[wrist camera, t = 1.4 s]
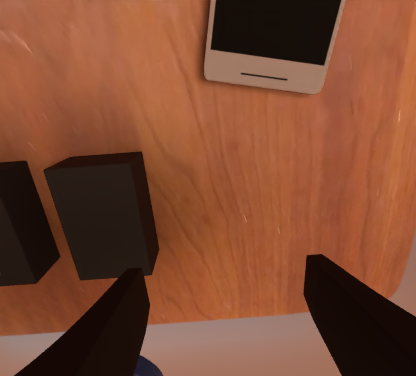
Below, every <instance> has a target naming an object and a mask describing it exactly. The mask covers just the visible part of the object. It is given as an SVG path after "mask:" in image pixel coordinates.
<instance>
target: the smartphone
mask: <svg viewBox="0 0 416 376" xmlns="http://www.w3.org/2000/svg"><path fill="white" fill-rule="evenodd" d="M345 2H346V0H211V4H210V13H209V23H208V32H207V42H206V52H205V61H204V76H205V78H206V80H208V81H215V82H223V83H230V84H238V85H245V86H253V87H260V88H268V89H275V90H282V91H290V92H297V93H305V94H318V93H319V92H320V90H321V88H322V86H323V84H324V80H325V76H326V73H327V69H328V65H329V62H330V58H331V54H332V50H333V47H334V43H335V39H336V36H337V32H338V28H339V24H340V21H341V17H342V13H343V9H344V6H345Z"/></svg>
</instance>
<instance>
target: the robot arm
mask: <svg viewBox="0 0 416 376" xmlns="http://www.w3.org/2000/svg"><path fill="white" fill-rule="evenodd" d="M304 297H305V300H306V302H307V305H308V308H309V310H310V313H311V316H312V318H313V320H314V322H315V324H316V326H317V328H318V330H319V332H320V334H321V336H322V338H323V340H324V342H325V344H326V346H327V348H328V350H329V352H330V354H331V356H332V357H333V359H334V361H335V363H336V365H337V367H338V369H339V371H340V373H341V375H342V376H416V317H415V316H414V315H412V314H410V313H409V312H407V311H405V310H404V309H402V308H400V307H399V306H397V305H395V304H394V303H393V302H391V301H389V300H388V299H386V298H385V297H383V296H382V295H380V294H378V293H377V292H375V291H374V290H372V289H371V288H369V287H368V286H367V285H365V284H364V283H362V282H361V281H359V280H358V279H356V278H355V277H354V276H352V275H351V274H349V273H348V272H347V271H345V270H344V269H342V268H341V267H339V266H338V265H337V264H335V263H334V262H332V261H331V260H330V259H328V258H327V257H325V256H324V255H322V254H317V255H307V259H306V270H305V282H304ZM149 309H150V302H149V298H148V293H147V288H146V284H145V279H144V274H143V270H142V267H140V268H127V269H126V271H125V272H124V273H123V274H122V275H121V276H120V277H119V278H118V279H117V280H116V281H115V282H114V283H113V285H112V286H111V287H110V288H109V289H108V290H107V291H106V292H105V293H104V294H103V295H102V296H101V298H100V299H99V300H98V301H97V302H96V303H95V304H94V305H93V306H92V307H91V308H90V309H89V310H88V311H87V312H86V313H85V314H84V315H83V316H82V317H81V318H80V319H79V320H78V321H77V322H76V323H75V324H74V325H73V326H72V327H71V328H70V329H69V330H68V331H67V332H65V333H64V334H63V335H62V336H61V337H60V338H59V339H58V340H57V341H56V342H54V343H53V344H52V345H51V346H50V347H49V348H47V349H46V350H45V351H44V352H43V353H42V354H40V355H39V356H38V357H37V358H36V359H35V360H33V361H32V362H31V363H30V364H29V365H27V366H26V367H25V368H23V369H22V370H21V371H19V372H18V373H17V374H16V375H14V376H134V372H135V369H136V365H137V361H138V358H139V354H140V351H141V347H142V344H143V340H144V336H145V332H146V328H147V322H148V316H149Z"/></svg>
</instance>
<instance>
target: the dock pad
mask: <svg viewBox="0 0 416 376" xmlns="http://www.w3.org/2000/svg"><path fill="white" fill-rule="evenodd" d="M59 258H60V255H59V252H58V249H57V247H56V244H55V241H54V238H53V235H52V232H51V230H50V227H49V224H48V221H47V218H46V216H45V213H44V210H43V207H42V204H41V202H40V199H39V196H38V193H37V190H36V188H35V185H34V182H33V179H32V176H31V173H30V171H29V168H28V165H27V162H26V161H16V162H4V163H0V286H11V285H25V284H36V283H38V281H39V280H40V279H41V278H42V277H43V276H44V275H45V274H46V272H47V271H48V270H49V269H50V268H51V267H52V266H53V264H54V263H55V262H56V261H57V260H58V259H59Z"/></svg>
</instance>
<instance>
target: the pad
mask: <svg viewBox="0 0 416 376" xmlns="http://www.w3.org/2000/svg"><path fill="white" fill-rule="evenodd" d="M43 171H44V174H45V177H46V180H47V183H48V186H49V189H50V192H51V195H52V198H53V201H54V204H55V207H56V210H57V213H58V216H59V219H60V222H61V225H62V228H63V231H64V234H65V237H66V240H67V243H68V246H69V249H70V252H71V255H72V258H73V261H74V263H75V266H76V269H77V272H78V275H79V278H80V280H93V279H107V278H119V277H120V276H121V275H122V274H123V273H124V272H125V271H126V269H127V268H140V267H142V270H143V274H144V276H148V275H152V273H153V269H154V266H155V262H156V259H157V255H158V252H159V246H158V240H157V234H156V229H155V223H154V217H153V212H152V206H151V200H150V195H149V189H148V183H147V178H146V172H145V166H144V161H143V155H142V152H130V153H117V154H105V155H92V156H79V157H70V158H67V159H65V160H63V161H61V162H59V163H57V164H55V165H52V166H50V167H48V168H46V169H44V170H43Z"/></svg>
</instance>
